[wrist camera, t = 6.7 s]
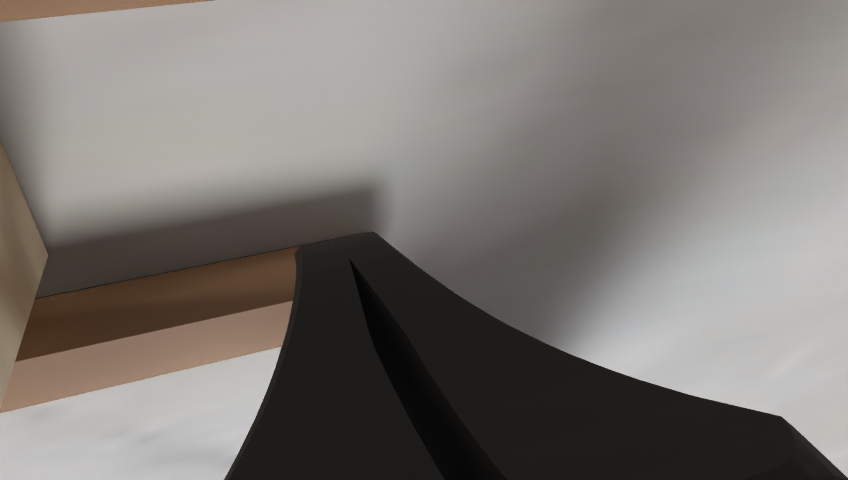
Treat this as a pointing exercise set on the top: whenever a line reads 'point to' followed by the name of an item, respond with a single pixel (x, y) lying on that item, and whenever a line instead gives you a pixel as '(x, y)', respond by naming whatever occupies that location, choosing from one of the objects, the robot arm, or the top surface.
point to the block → (16, 267)
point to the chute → (145, 301)
